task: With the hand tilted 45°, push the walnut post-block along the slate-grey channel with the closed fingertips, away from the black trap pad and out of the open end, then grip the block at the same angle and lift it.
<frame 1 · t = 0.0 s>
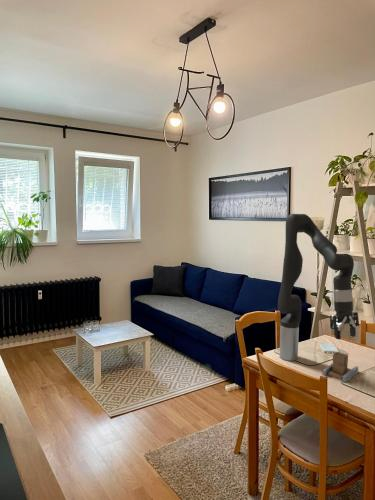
hand: (345, 337, 157), 22 cm above the table, tool pointing down, fingers open, 8 cm apart
channel: (340, 373, 174), on the table
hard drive: (328, 350, 205), on the table
walnut block: (338, 374, 172), on the table
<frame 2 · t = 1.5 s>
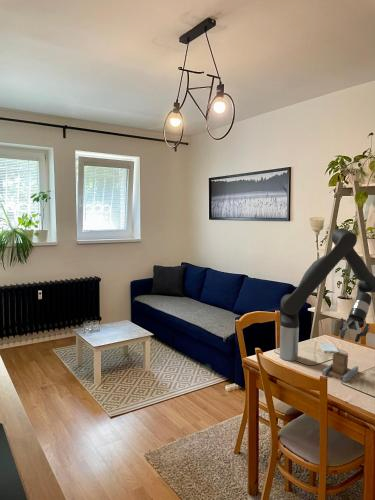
hand: (348, 339, 178), 14 cm above the table, tool tilted 45°, fingers open, 6 cm apart
nothing on the table moved.
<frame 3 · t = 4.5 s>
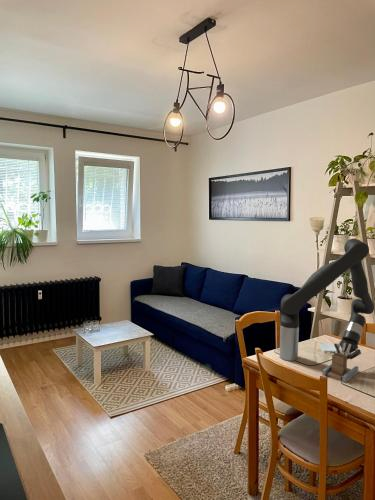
hand: (341, 364, 174), 4 cm above the table, tool tilted 45°, fingers closed
walnut block: (337, 375, 172), on the table, touching gripper
everything else where it was.
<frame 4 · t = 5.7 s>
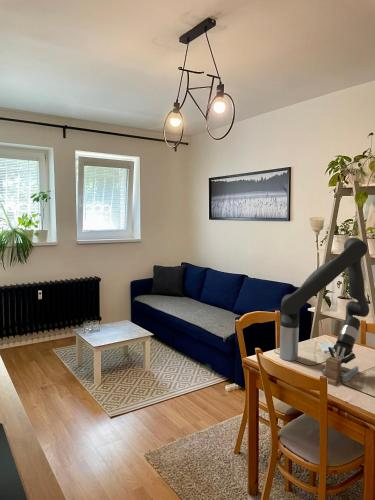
hand: (335, 369, 169), 4 cm above the table, tool tilted 45°, fingers closed
walnut block: (331, 380, 167), on the table, touching gripper
everything else where it was.
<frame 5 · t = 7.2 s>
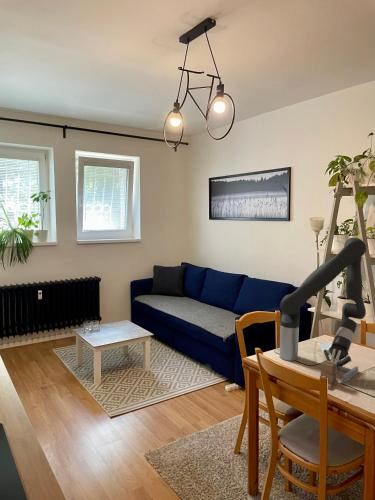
hand: (330, 372, 166), 4 cm above the table, tool tilted 45°, fingers closed
walnut block: (327, 384, 163), on the table, touching gripper
everything else where it was.
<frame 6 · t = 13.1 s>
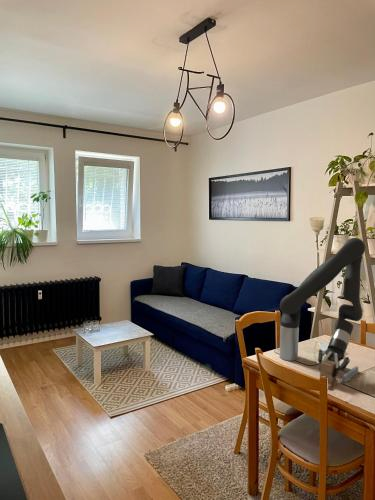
hand: (327, 374, 162), 4 cm above the table, tool tilted 45°, fingers closed on walnut block, 5 cm apart
walnut block: (326, 384, 163), on the table, touching gripper
everything else where it was.
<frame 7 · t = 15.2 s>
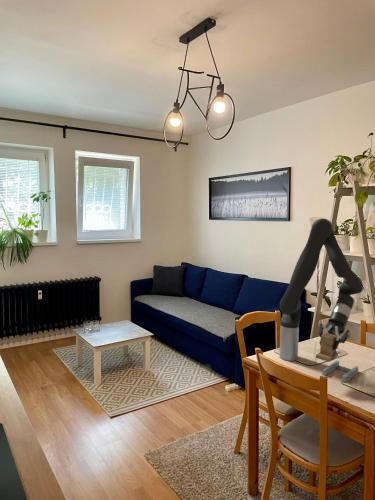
hand: (327, 347, 162), 17 cm above the table, tool tilted 45°, fingers closed on walnut block, 5 cm apart
walnut block: (326, 357, 162), point 12 cm above the table, touching gripper
everything else where it was.
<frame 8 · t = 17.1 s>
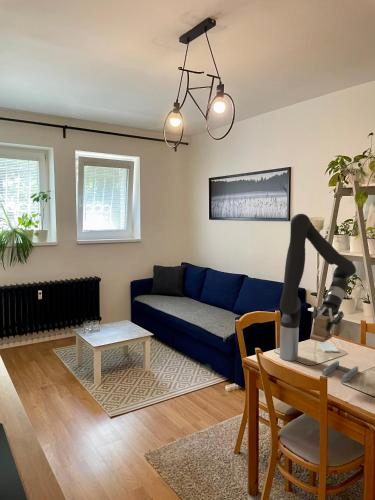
hand: (321, 328, 164), 24 cm above the table, tool tilted 45°, fingers closed on walnut block, 5 cm apart
walnut block: (321, 338, 165), point 20 cm above the table, touching gripper
everything else where it was.
at the end: the gripper is holding walnut block; walnut block point 19.6 cm above the table; walnut block inside the target area (4.2 cm from its centre), point 19.6 cm above the table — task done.
